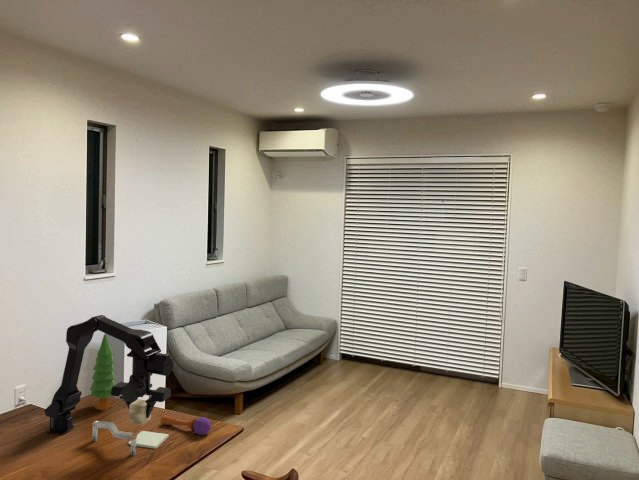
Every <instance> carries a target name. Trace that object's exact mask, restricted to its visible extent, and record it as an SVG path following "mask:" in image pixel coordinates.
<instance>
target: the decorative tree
mask: <svg viewBox="0 0 639 480" xmlns="http://www.w3.org/2000/svg"><path fill="white" fill-rule="evenodd" d="M113 353H114V351H113V349H112V347H111V344H110V343H109V339H108V338H107V334H106V333H104V334H103V337H102V340H101V343H100V347H99V349H98V351H97V354H96V355H97V356H96V359H95V362H96V363H95V365H94V367H93V370H94V373H93V376H92V377H91V379H92V380H93V382H92V384H91V386H90V388H89V390H90V391H91V393H90V396H91V397H92V398H94V399H98V402H97V403H96V405H95V406H94V409H96V410H102V411H105V410H108V409H111V408H112V405H111V404H110V400H109V398H110V397H112V396H111V388H112V387H113V386H114V385H116V384H117V383H116V382H115V373H114V368H115V366H114V361H115V359H114V357H113Z"/></svg>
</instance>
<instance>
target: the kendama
mask: <svg viewBox="0 0 639 480" xmlns="http://www.w3.org/2000/svg"><path fill="white" fill-rule="evenodd" d="M160 424H161V425H163V426H165V425H169V426H171V425H172V426H186V427H188V428H189V429H190V430H191V431H192V432H195V434H197V435H198V436H199V435H200V436H204V435H207V434H208V433H209V432H210V430H211V429H212V428H211V427H212V424H211V421H210V420H209V419H208V418H207V417H203V416H202V417H198V418H194V419H190V420H188V421H184V420H181V419H180V418H174V417H172V416H169V415H162V416H161V418H160Z"/></svg>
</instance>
